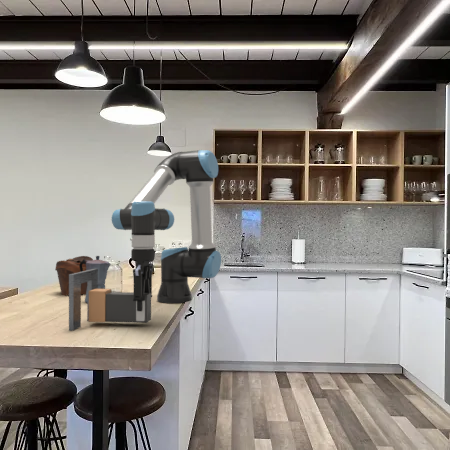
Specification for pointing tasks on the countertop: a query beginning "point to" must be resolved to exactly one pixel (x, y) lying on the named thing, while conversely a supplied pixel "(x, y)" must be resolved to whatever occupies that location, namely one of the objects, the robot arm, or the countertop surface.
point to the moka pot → (102, 270)
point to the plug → (116, 306)
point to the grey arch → (75, 295)
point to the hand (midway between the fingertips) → (143, 318)
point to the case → (70, 272)
